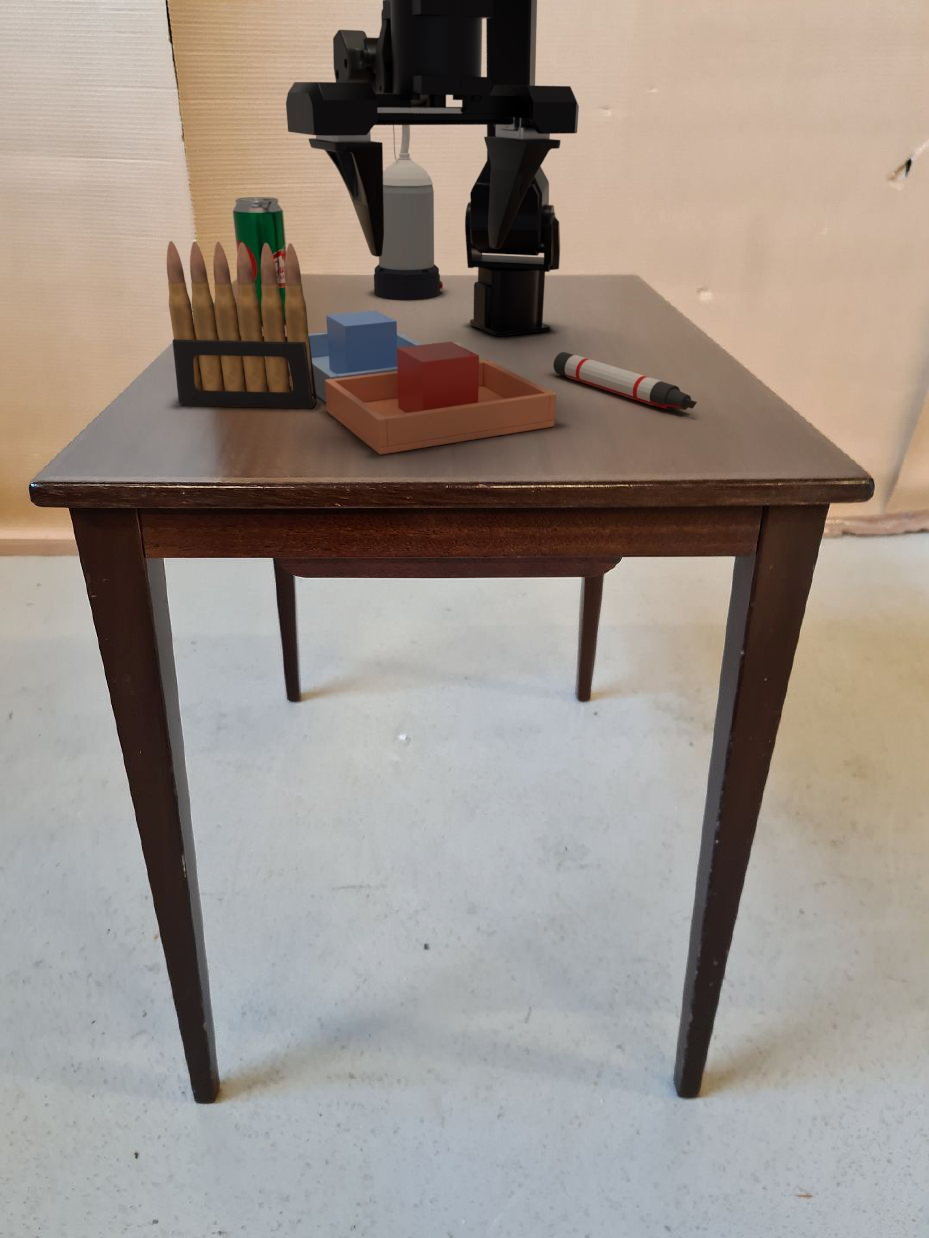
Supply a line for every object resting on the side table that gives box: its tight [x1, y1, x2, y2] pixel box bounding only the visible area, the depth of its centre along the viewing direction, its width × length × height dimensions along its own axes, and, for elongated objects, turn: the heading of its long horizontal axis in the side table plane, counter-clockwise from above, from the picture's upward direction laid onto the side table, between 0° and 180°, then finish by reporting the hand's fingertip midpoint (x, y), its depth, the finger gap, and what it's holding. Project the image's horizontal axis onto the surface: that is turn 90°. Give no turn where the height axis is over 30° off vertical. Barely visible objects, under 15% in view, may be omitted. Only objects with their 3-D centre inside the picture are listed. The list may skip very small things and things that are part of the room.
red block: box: [397, 341, 480, 413], centre depth 68 cm, size 5×5×5 cm
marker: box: [552, 351, 698, 411], centre depth 74 cm, size 15×2×2 cm, turn 37°
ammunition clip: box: [166, 240, 318, 409], centre depth 69 cm, size 11×2×12 cm, turn 88°
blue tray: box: [286, 331, 423, 403], centre depth 78 cm, size 11×14×2 cm
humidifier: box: [373, 125, 443, 301], centre depth 105 cm, size 8×8×25 cm
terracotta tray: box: [325, 359, 557, 455], centre depth 68 cm, size 14×11×2 cm
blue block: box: [325, 310, 398, 374], centre depth 77 cm, size 5×5×5 cm
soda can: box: [232, 196, 287, 326], centre depth 94 cm, size 5×5×12 cm
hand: (437, 251), depth 63 cm, fingers open, 9 cm apart
